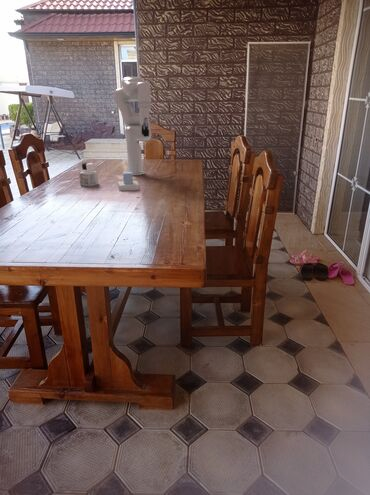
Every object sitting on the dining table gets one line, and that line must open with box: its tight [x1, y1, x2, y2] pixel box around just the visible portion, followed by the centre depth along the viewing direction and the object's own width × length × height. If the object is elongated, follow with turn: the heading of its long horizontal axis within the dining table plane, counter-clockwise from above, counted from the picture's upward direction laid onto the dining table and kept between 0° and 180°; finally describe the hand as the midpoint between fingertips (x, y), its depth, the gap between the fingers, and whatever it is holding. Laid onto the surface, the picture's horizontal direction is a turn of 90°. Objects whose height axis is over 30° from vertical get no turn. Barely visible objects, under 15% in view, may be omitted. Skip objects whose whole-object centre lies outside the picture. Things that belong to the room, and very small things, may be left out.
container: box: [78, 162, 99, 187], centre depth 222 cm, size 8×8×13 cm
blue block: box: [122, 171, 134, 184], centre depth 214 cm, size 5×5×6 cm
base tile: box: [117, 180, 140, 192], centre depth 215 cm, size 11×11×3 cm
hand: (145, 135), depth 224 cm, fingers open, 9 cm apart
